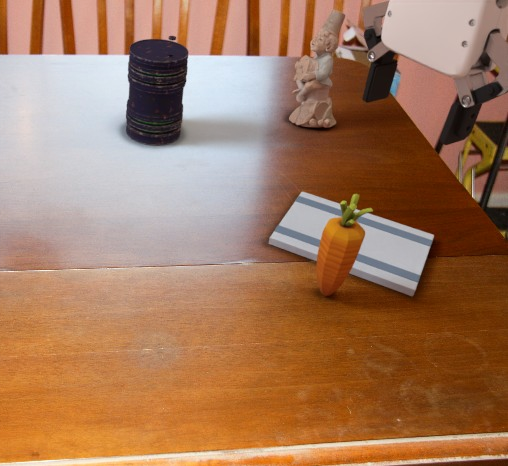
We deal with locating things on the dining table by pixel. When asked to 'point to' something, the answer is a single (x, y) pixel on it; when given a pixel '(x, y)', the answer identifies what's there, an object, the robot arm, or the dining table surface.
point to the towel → (372, 249)
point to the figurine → (317, 77)
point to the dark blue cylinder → (156, 90)
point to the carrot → (339, 247)
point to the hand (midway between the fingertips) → (411, 119)
